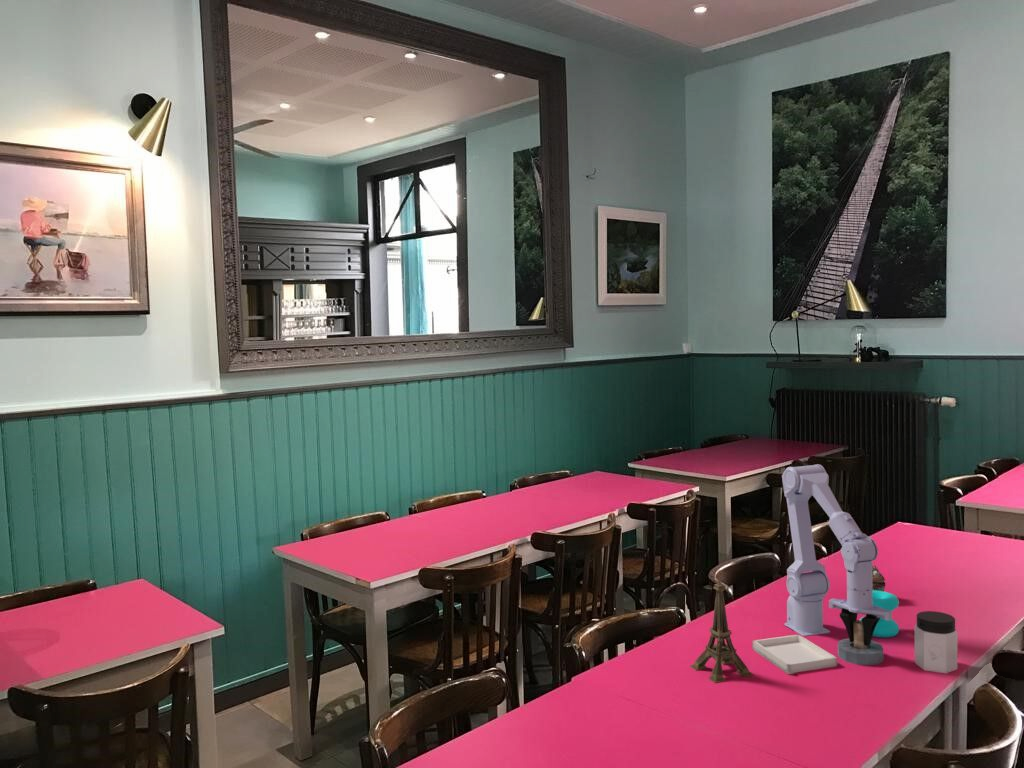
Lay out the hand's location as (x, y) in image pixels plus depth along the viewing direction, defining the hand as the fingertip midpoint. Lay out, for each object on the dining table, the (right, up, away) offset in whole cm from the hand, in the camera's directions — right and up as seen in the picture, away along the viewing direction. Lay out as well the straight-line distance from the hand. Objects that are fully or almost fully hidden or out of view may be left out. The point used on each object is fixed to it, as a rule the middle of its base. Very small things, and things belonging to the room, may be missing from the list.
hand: (860, 642), depth 202 cm
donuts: (+12, -3, +16) cm, 20 cm away
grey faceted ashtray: (0, -4, 0) cm, 4 cm away
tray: (-16, -4, +1) cm, 16 cm away
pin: (0, -4, 0) cm, 3 cm away
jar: (+15, -4, -6) cm, 17 cm away
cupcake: (+20, -1, +42) cm, 46 cm away
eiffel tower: (-35, -6, -4) cm, 35 cm away
